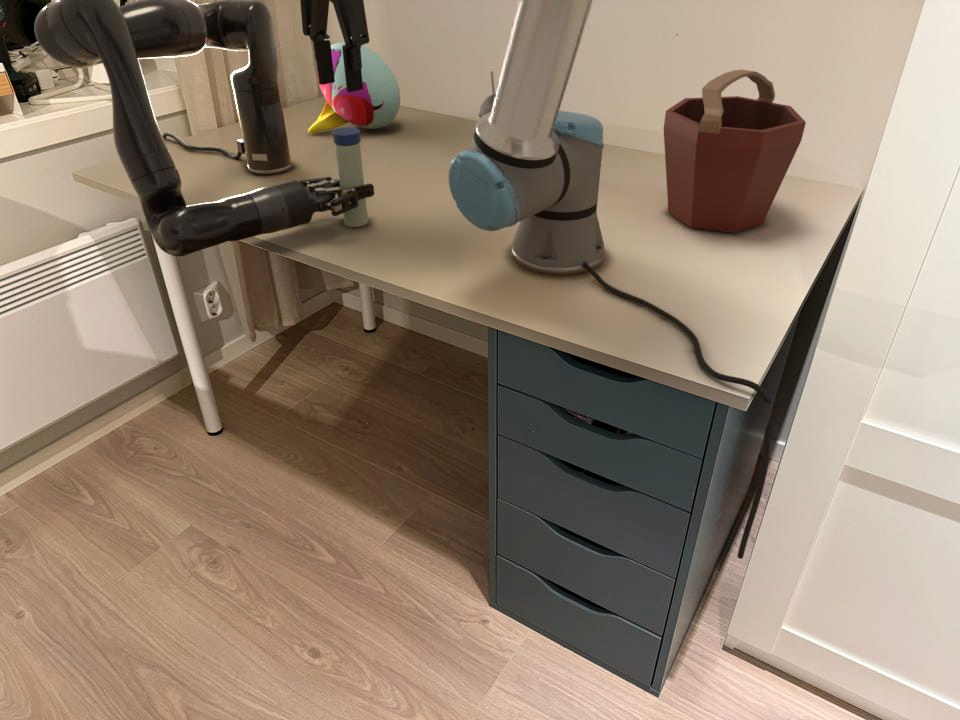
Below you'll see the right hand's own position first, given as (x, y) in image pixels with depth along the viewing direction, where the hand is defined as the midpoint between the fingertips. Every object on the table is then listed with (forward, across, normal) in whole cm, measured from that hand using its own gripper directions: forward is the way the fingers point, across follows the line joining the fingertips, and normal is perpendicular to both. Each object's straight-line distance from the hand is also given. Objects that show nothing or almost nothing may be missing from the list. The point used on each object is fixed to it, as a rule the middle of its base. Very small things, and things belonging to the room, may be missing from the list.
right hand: (340, 86), depth 117 cm
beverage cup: (+24, 0, -38) cm, 45 cm away
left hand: (+18, 0, -3) cm, 18 cm away
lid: (+8, 0, 0) cm, 8 cm away
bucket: (+24, -46, -47) cm, 71 cm away
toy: (+24, +48, -37) cm, 66 cm away
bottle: (+24, 0, 0) cm, 24 cm away
